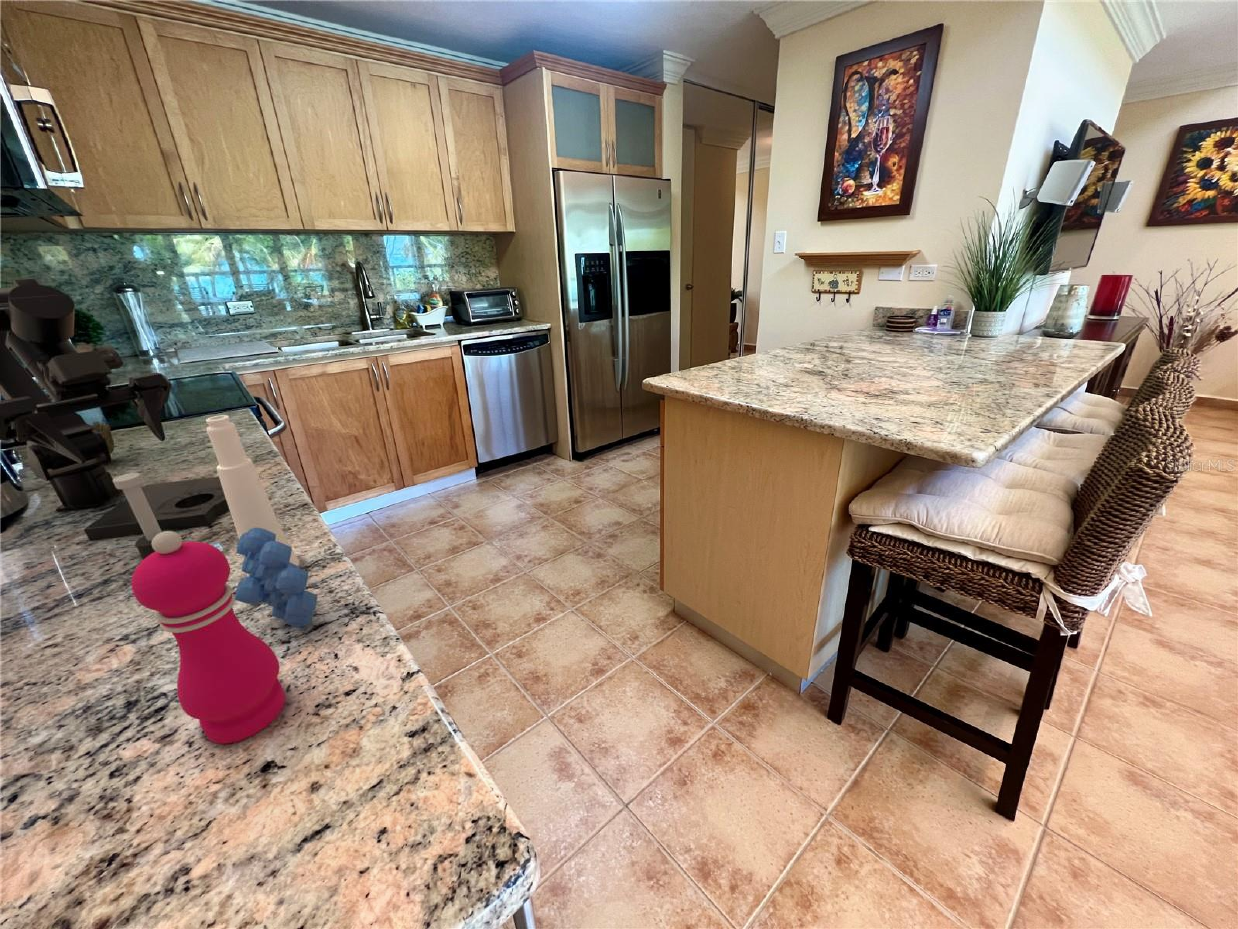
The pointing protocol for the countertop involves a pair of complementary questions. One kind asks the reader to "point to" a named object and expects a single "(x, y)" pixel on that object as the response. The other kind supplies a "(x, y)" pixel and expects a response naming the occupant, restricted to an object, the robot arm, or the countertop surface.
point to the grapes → (274, 578)
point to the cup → (105, 435)
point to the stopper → (140, 511)
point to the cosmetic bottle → (242, 483)
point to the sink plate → (166, 508)
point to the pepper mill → (209, 639)
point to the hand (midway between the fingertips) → (125, 450)
